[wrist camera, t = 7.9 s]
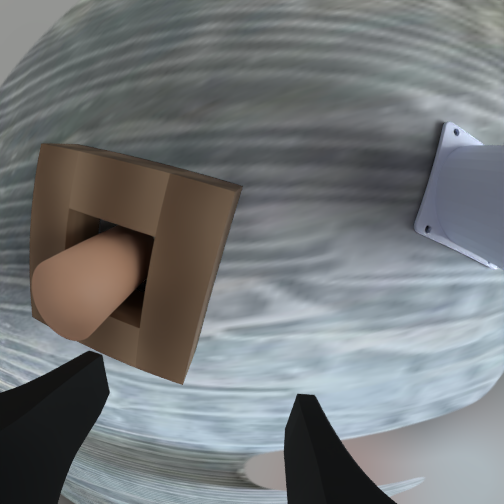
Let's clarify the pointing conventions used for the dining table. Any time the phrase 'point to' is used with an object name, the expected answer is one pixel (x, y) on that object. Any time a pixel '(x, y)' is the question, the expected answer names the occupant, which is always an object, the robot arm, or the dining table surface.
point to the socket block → (146, 221)
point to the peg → (90, 280)
